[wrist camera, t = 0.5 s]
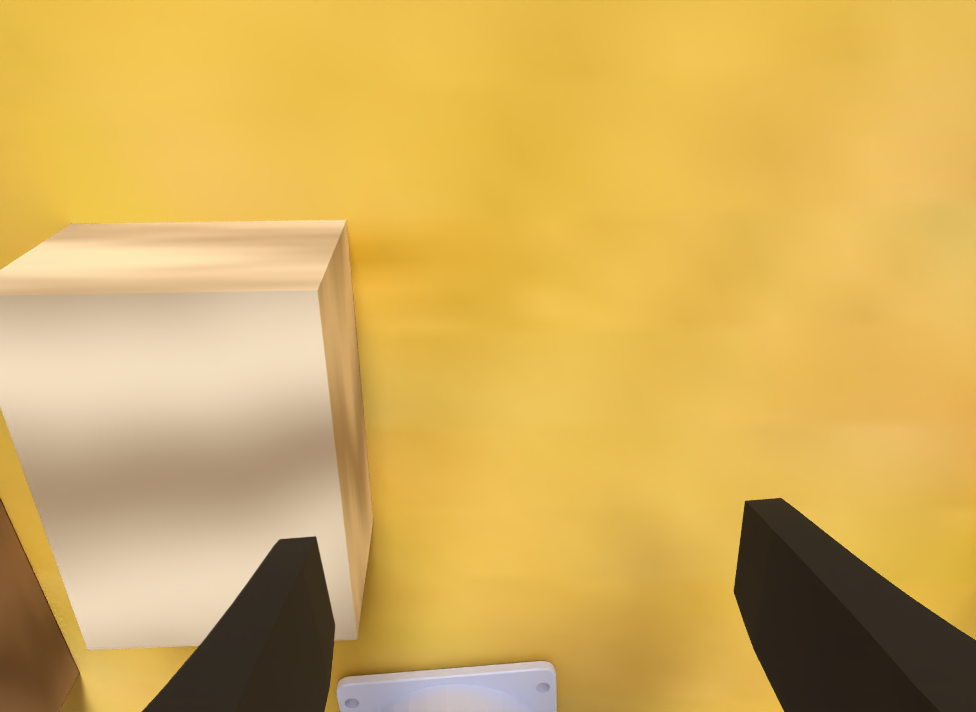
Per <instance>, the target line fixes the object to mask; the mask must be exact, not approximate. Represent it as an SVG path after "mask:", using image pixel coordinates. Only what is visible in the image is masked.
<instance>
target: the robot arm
mask: <svg viewBox="0 0 976 712" xmlns="http://www.w3.org/2000/svg"><path fill="white" fill-rule="evenodd" d="M734 594H735V597H736V600H737V603H738V606H739V609H740V612H741V615H742V618H743V621H744V624H745V627H746V629H747V632H748V635H749V638H750V640H751V643H752V646H753V649H754V651H755V653H756V655H757V657H758V659H759V661H760V663H761V665H762V667H763V669H764V671H765V673H766V676H767V678H768V680H769V682H770V684H771V686H772V688H773V690H774V692H775V694H776V696H777V698H778V700H779V702H780V704H781V706H782V708H783V710H784V712H976V640H975V639H973V638H971V637H970V636H968V635H967V634H965V633H963V632H962V631H960V630H959V629H957V628H956V627H954V626H953V625H951V624H950V623H948V622H947V621H945V620H944V619H942V618H941V617H939V616H938V615H936V614H935V613H933V612H932V611H930V610H929V609H928V608H926V607H925V606H923V605H922V604H920V603H919V602H917V601H916V600H914V599H913V598H912V597H910V596H909V595H907V594H906V593H905V592H903V591H902V590H900V589H899V588H898V587H896V586H895V585H893V584H892V583H891V582H889V581H888V580H887V579H885V578H884V577H883V576H881V575H880V574H878V573H877V572H876V571H874V570H873V569H872V568H871V567H869V566H868V565H867V564H865V563H864V562H863V561H861V560H860V559H859V558H857V557H856V556H855V555H853V554H852V553H851V552H850V551H848V550H847V549H846V548H844V547H843V546H842V545H841V544H839V543H838V542H837V541H836V540H834V539H833V538H832V537H830V536H829V535H828V534H827V533H825V532H824V531H823V530H822V529H820V528H819V527H818V526H817V525H815V524H814V523H813V522H812V521H810V520H809V519H808V518H806V517H805V516H804V515H803V514H801V513H800V512H799V511H798V510H796V509H795V508H794V507H792V506H791V505H790V504H788V503H787V502H786V501H784V500H783V499H782V498H775V499H763V500H751V501H745V506H744V514H743V522H742V530H741V538H740V546H739V554H738V562H737V570H736V578H735V586H734ZM334 636H335V621H334V617H333V612H332V607H331V603H330V598H329V593H328V589H327V584H326V579H325V575H324V570H323V565H322V561H321V556H320V552H319V547H318V542H317V538H316V536H312V537H300V538H288V539H279V540H278V541H277V543H276V544H275V545H274V546H273V547H272V549H271V550H270V552H269V553H268V554H267V556H266V557H265V559H264V560H263V561H262V563H261V564H260V566H259V567H258V569H257V570H256V571H255V573H254V574H253V576H252V577H251V578H250V580H249V581H248V582H247V584H246V585H245V587H244V588H243V589H242V591H241V592H240V593H239V595H238V596H237V598H236V599H235V600H234V602H233V603H232V604H231V606H230V607H229V608H228V609H227V611H226V612H225V613H224V615H223V616H222V617H221V619H220V620H219V621H218V622H217V624H216V625H215V626H214V628H213V629H212V630H211V631H210V633H209V634H208V635H207V637H206V638H205V639H204V640H203V642H202V643H201V644H200V645H199V647H198V648H197V649H196V650H195V651H194V653H193V654H192V655H191V656H190V657H189V659H188V660H187V661H186V662H185V663H184V664H183V666H182V667H181V668H180V669H179V670H178V671H177V673H176V674H175V675H174V676H173V677H172V679H171V680H170V681H169V682H168V683H167V684H166V686H165V687H164V688H163V689H162V690H161V691H160V692H159V693H158V695H157V696H156V697H155V698H154V699H153V700H152V701H151V702H150V703H149V704H148V706H147V707H146V708H145V709H144V710H143V711H142V712H324V711H325V706H326V701H327V697H328V692H329V687H330V678H331V669H332V659H333V647H334ZM541 683H542V684H541ZM336 695H337V700H338V704H339V709H340V712H557V698H556V672H555V668H554V665H552V664H551V663H549V662H547V661H534V662H522V663H509V664H497V665H484V666H472V667H460V668H447V669H435V670H423V671H410V672H398V673H385V674H373V675H361V676H349V677H345V678H343V679H341V680H340V681H339V682H338V684H337V692H336Z"/></svg>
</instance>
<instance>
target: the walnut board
mask: <svg viewBox="0 0 976 712" xmlns="http://www.w3.org/2000/svg"><path fill="white" fill-rule="evenodd" d="M78 675H79V671H78V669H77V667H76V665H75V663H74V660H73V658H72V656H71V654H70V652H69V649H68V647H67V645H66V643H65V641H64V638H63V636H62V634H61V632H60V630H59V627H58V625H57V623H56V621H55V619H54V617H53V614H52V612H51V610H50V608H49V606H48V603H47V601H46V599H45V597H44V595H43V592H42V590H41V588H40V586H39V584H38V581H37V579H36V577H35V575H34V573H33V571H32V568H31V566H30V564H29V562H28V560H27V557H26V555H25V553H24V551H23V549H22V546H21V544H20V542H19V540H18V538H17V535H16V533H15V531H14V529H13V527H12V524H11V522H10V520H9V518H8V516H7V514H6V511H5V509H4V507H3V505H2V503H1V500H0V712H59V711H60V709H61V707H62V705H63V703H64V701H65V699H66V697H67V695H68V694H69V692H70V690H71V688H72V686H73V684H74V682H75V680H76V678H77V677H78Z"/></svg>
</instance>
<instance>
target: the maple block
mask: <svg viewBox="0 0 976 712" xmlns="http://www.w3.org/2000/svg"><path fill="white" fill-rule="evenodd" d="M0 408H1V410H2V413H3V416H4V419H5V421H6V424H7V427H8V430H9V433H10V435H11V438H12V441H13V444H14V447H15V449H16V452H17V455H18V458H19V460H20V463H21V466H22V469H23V472H24V474H25V477H26V480H27V483H28V486H29V488H30V491H31V494H32V497H33V499H34V502H35V505H36V508H37V511H38V513H39V516H40V519H41V522H42V525H43V527H44V530H45V533H46V536H47V538H48V541H49V544H50V547H51V550H52V552H53V555H54V558H55V561H56V563H57V566H58V569H59V572H60V575H61V577H62V580H63V583H64V586H65V589H66V591H67V594H68V597H69V600H70V602H71V605H72V608H73V611H74V614H75V616H76V619H77V622H78V625H79V628H80V630H81V633H82V636H83V639H84V641H85V644H86V647H87V650H101V649H127V648H154V647H180V646H199V645H200V644H201V643H202V642H203V640H204V639H205V638H206V637H207V635H208V634H209V633H210V631H211V630H212V629H213V628H214V626H215V625H216V624H217V622H218V621H219V620H220V619H221V617H222V616H223V615H224V613H225V612H226V611H227V609H228V608H229V607H230V606H231V604H232V603H233V602H234V600H235V599H236V598H237V596H238V595H239V593H240V592H241V591H242V589H243V588H244V587H245V585H246V584H247V582H248V581H249V580H250V578H251V577H252V576H253V574H254V573H255V571H256V570H257V569H258V567H259V566H260V564H261V563H262V561H263V560H264V559H265V557H266V556H267V554H268V553H269V552H270V550H271V549H272V547H273V546H274V545H275V544H276V543H277V541H278V540H279V539H288V538H300V537H312V536H316V538H317V542H318V547H319V552H320V556H321V561H322V565H323V570H324V575H325V579H326V584H327V589H328V593H329V598H330V603H331V607H332V612H333V617H334V621H335V636H334V641H337V640H357V638H358V630H359V623H360V616H361V608H362V601H363V593H364V586H365V579H366V571H367V564H368V557H369V549H370V542H371V534H372V527H373V511H372V500H371V489H370V478H369V467H368V455H367V444H366V433H365V422H364V411H363V399H362V388H361V377H360V366H359V354H358V343H357V332H356V321H355V310H354V298H353V287H352V276H351V265H350V254H349V242H348V231H347V220H309V221H231V222H153V223H75V224H70V225H68V226H67V227H65V228H64V229H62V230H61V231H59V232H57V233H56V234H54V235H53V236H51V237H50V238H48V239H47V240H45V241H44V242H42V243H41V244H39V245H38V246H36V247H35V248H33V249H32V250H30V251H29V252H27V253H25V254H24V255H22V256H21V257H19V258H18V259H16V260H15V261H13V262H12V263H10V264H9V265H7V266H6V267H4V268H3V269H1V270H0Z"/></svg>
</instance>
